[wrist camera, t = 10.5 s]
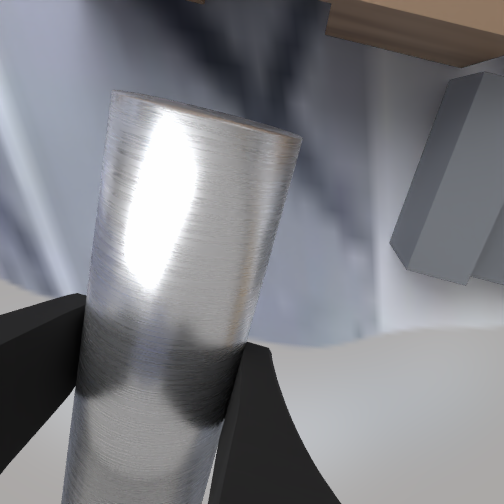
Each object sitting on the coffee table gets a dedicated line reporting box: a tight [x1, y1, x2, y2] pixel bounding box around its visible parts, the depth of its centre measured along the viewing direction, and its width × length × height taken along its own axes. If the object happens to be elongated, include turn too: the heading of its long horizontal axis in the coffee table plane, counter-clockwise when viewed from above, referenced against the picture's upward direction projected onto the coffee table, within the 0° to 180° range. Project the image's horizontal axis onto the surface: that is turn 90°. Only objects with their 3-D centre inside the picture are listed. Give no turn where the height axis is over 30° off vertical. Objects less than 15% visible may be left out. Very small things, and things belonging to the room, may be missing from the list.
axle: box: [61, 90, 303, 504], centre depth 11 cm, size 12×4×4 cm, turn 166°
